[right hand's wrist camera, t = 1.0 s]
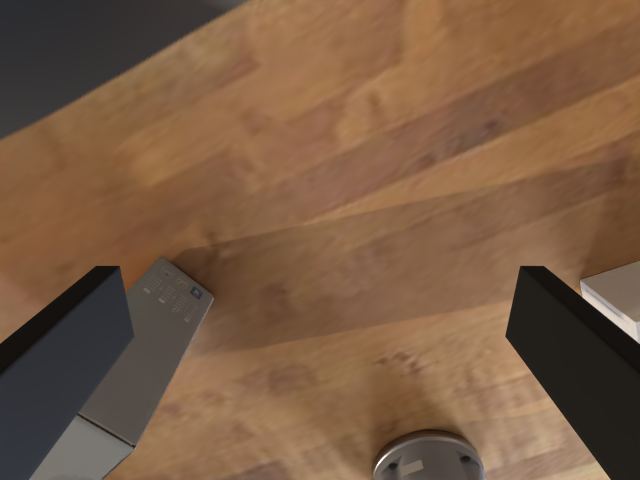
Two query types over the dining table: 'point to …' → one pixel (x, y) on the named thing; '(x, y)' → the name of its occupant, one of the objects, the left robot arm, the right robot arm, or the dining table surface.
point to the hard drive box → (132, 377)
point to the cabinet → (617, 296)
